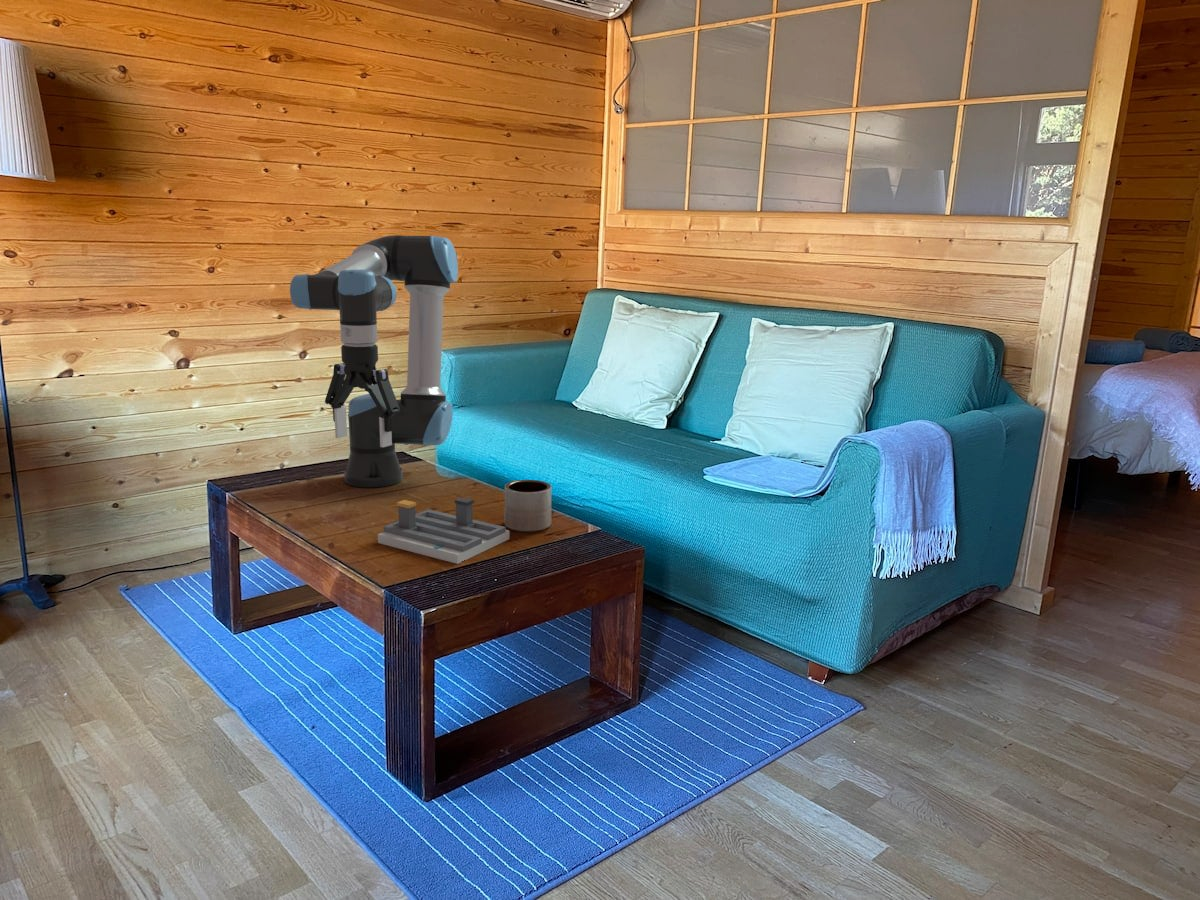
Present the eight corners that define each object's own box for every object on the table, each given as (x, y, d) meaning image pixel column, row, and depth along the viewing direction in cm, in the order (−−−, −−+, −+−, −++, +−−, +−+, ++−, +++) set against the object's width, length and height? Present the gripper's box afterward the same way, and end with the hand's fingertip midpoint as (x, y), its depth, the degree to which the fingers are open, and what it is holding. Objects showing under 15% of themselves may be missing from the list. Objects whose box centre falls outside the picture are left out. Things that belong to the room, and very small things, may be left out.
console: (432, 520, 211) (432, 507, 210) (509, 539, 201) (509, 525, 200) (377, 542, 196) (377, 528, 195) (457, 563, 185) (457, 549, 185)
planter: (521, 515, 217) (521, 476, 215) (559, 523, 212) (560, 483, 210) (495, 527, 208) (494, 487, 205) (535, 536, 203) (535, 495, 200)
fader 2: (460, 524, 203) (460, 497, 201) (474, 527, 201) (474, 500, 199) (453, 526, 201) (453, 499, 199) (468, 530, 199) (467, 502, 197)
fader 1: (404, 526, 200) (403, 499, 198) (418, 530, 198) (417, 502, 196) (396, 529, 198) (395, 502, 196) (410, 533, 196) (409, 505, 194)
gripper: (305, 340, 195) (310, 436, 200) (389, 351, 182) (392, 453, 187) (331, 337, 201) (336, 430, 206) (415, 347, 188) (418, 446, 194)
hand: (363, 441), depth 197 cm, fingers open, 13 cm apart
